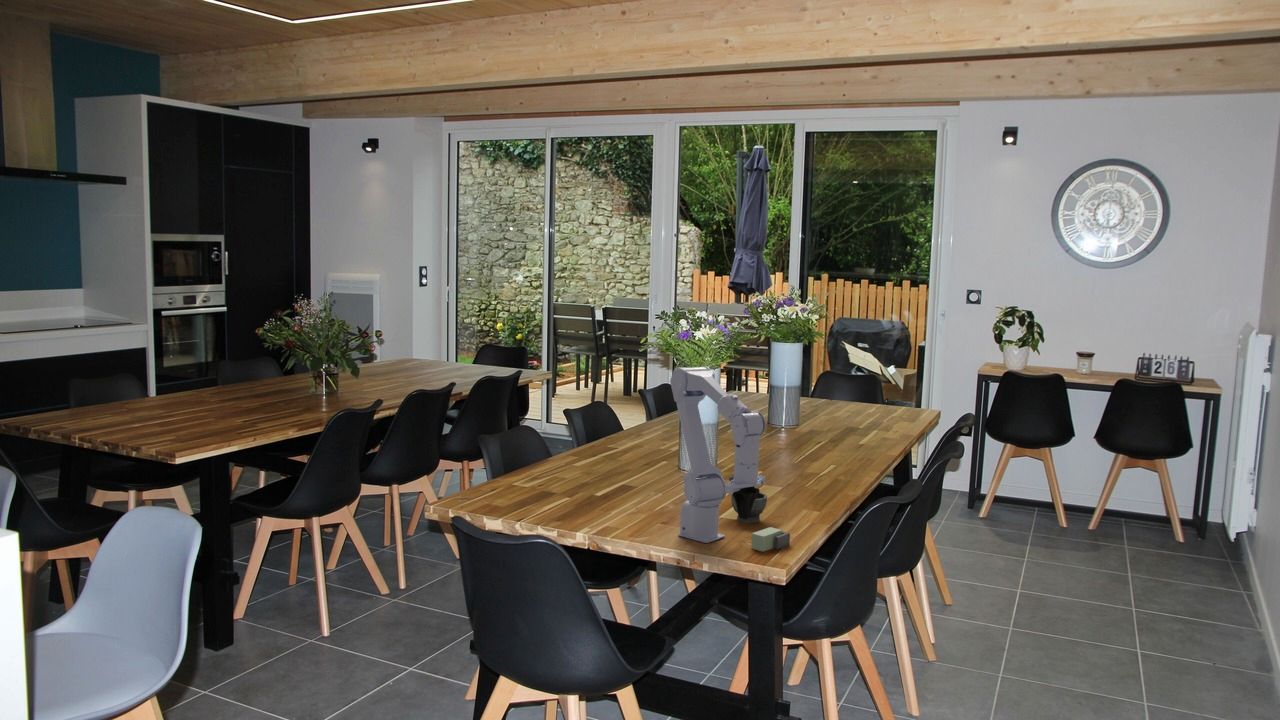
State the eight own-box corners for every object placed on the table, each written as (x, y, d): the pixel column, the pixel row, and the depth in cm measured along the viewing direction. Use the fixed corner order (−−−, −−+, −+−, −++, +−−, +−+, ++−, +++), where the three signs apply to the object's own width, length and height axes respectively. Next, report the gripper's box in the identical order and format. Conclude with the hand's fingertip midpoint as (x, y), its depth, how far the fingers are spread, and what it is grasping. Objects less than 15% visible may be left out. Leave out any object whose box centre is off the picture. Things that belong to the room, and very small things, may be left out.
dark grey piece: (755, 543, 237) (755, 531, 237) (767, 538, 241) (767, 527, 241) (777, 549, 233) (778, 537, 233) (789, 544, 237) (790, 533, 237)
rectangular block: (769, 542, 239) (770, 527, 239) (781, 545, 237) (782, 530, 236) (751, 549, 233) (752, 533, 233) (763, 552, 231) (763, 536, 230)
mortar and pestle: (771, 518, 260) (773, 476, 258) (757, 526, 252) (759, 483, 251) (735, 512, 266) (737, 470, 264) (720, 519, 258) (721, 476, 256)
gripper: (742, 470, 216) (740, 527, 218) (777, 460, 227) (774, 515, 229) (718, 464, 221) (715, 521, 223) (752, 456, 232) (750, 509, 234)
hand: (743, 517), depth 226 cm, fingers closed
